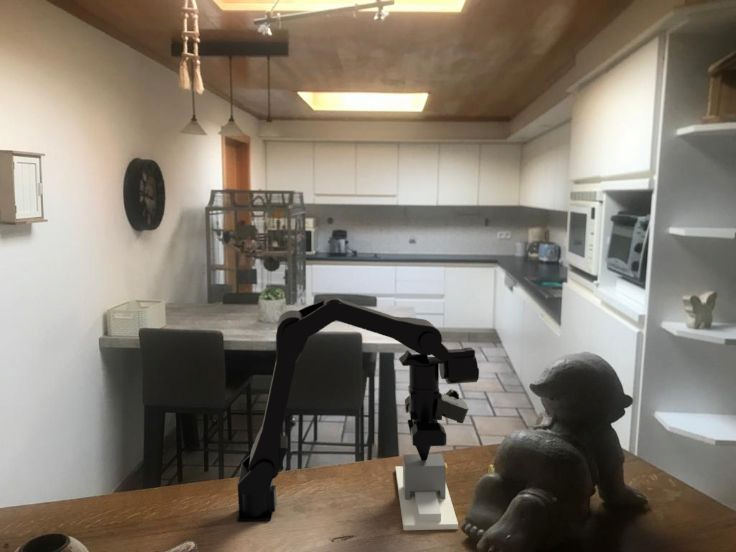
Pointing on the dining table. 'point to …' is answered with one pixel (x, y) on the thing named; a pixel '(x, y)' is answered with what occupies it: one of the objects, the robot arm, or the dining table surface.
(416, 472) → the din module
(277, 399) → the robot arm
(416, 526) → the rail plate
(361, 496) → the dining table surface
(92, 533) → the dining table surface
